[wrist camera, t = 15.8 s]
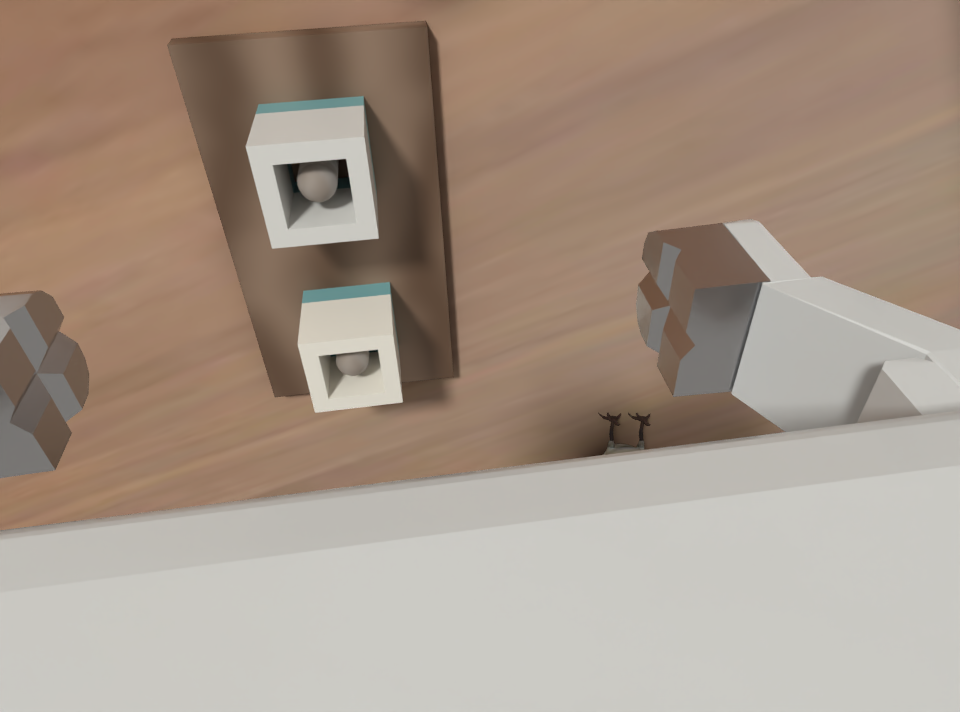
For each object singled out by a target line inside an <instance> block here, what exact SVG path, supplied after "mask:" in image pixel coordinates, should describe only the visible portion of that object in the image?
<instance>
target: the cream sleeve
mask: <svg viewBox="0 0 960 712" xmlns="http://www.w3.org/2000/svg"><path fill="white" fill-rule="evenodd" d="M298 348H299V352H300V356H301V360H302V364H303V368H304V371H305V375H306V379H307V383H308V387H309V391H310V395H311V398H312V402H313V406H314V410H315V413H316V412H325V411H333V410H342V409H351V408H359V407H368V406H376V405H385V404H394V403H402V402H403V398H402V384H401V370H400V357H399V345H398V338H397V331H396V324H395V316H394V309H393V302H392V295H391V288H390V282H386V283H376V284H366V285H356V286H346V287H336V288H327V289H317V290H307V291H303V298H302V307H301V317H300V326H299V336H298ZM360 351H369V363H368V366H367V368H366V370H365V371H364V372H363V373H361V374H359V375H356V376H349V375H345V374H344V373H342V372H341V371H340V370H339V368H338V367H337V364H336V354H342V353H351V352H360Z"/></svg>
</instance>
